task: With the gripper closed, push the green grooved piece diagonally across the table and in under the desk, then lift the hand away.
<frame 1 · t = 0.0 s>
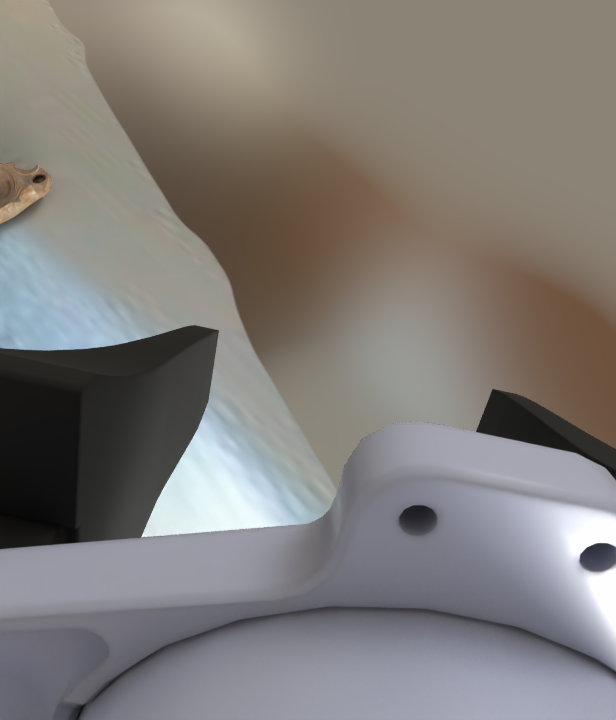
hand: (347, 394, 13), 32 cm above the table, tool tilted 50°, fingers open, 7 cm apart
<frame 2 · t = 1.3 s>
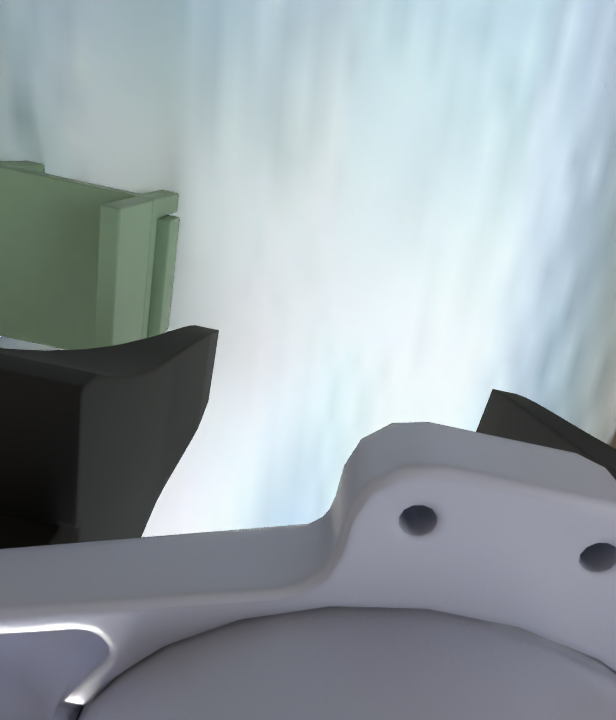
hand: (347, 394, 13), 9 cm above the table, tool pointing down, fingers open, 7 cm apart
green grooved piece: (99, 252, 21), on the table
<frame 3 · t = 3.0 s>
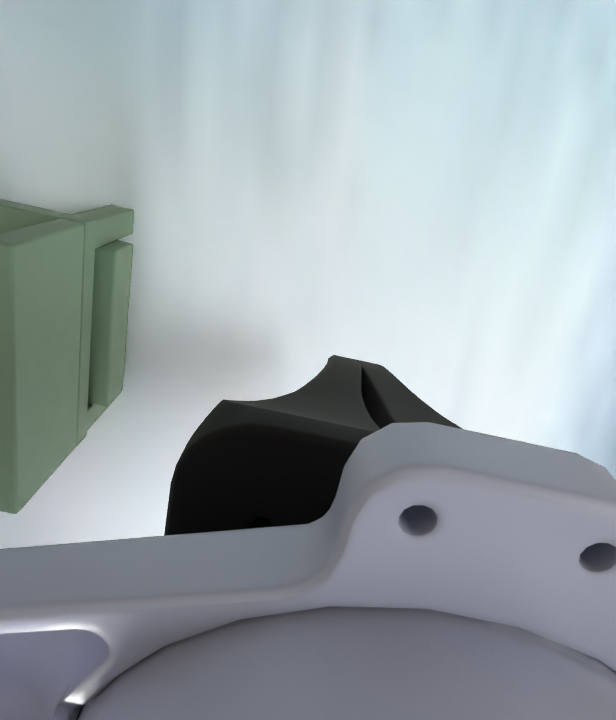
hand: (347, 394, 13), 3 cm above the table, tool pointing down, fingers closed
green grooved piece: (31, 287, 15), on the table
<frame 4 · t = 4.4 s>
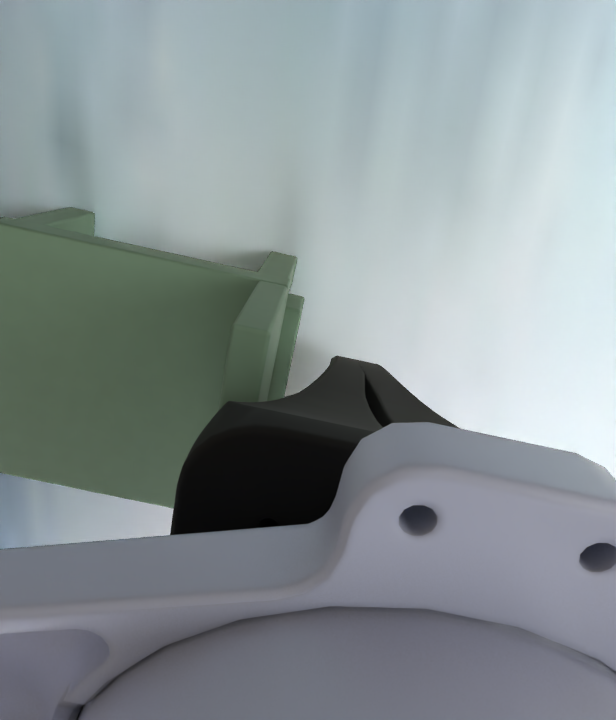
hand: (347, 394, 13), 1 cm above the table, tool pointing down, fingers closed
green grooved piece: (172, 338, 14), on the table, touching gripper
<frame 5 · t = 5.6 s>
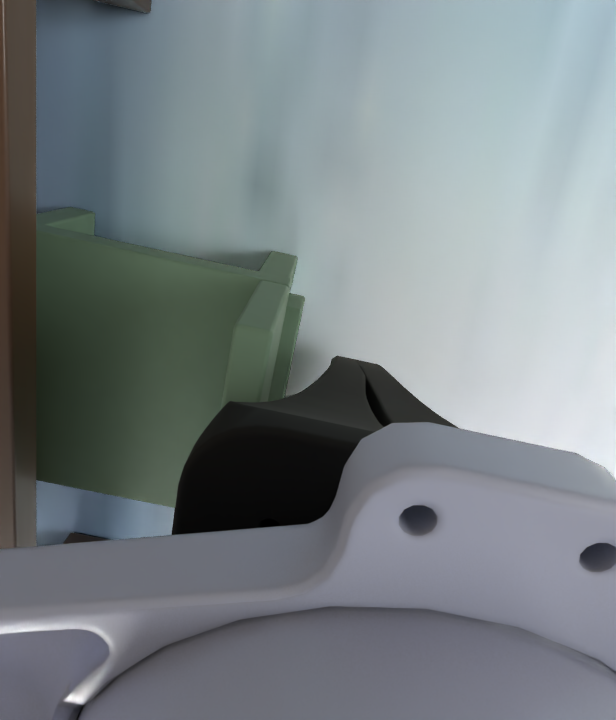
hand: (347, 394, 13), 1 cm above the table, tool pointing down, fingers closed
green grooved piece: (172, 337, 14), on the table, touching gripper
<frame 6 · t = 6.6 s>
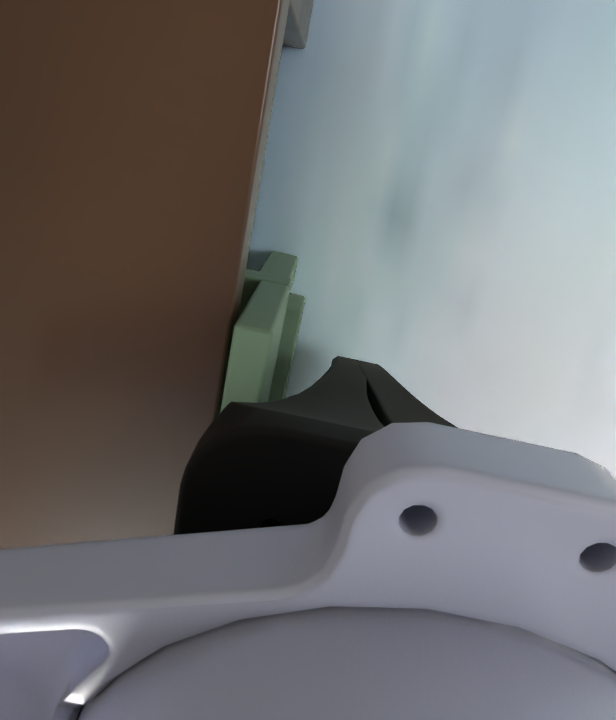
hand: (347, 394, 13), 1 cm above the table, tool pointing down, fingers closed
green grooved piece: (173, 337, 14), on the table, touching gripper
desk: (39, 311, 14), on the table
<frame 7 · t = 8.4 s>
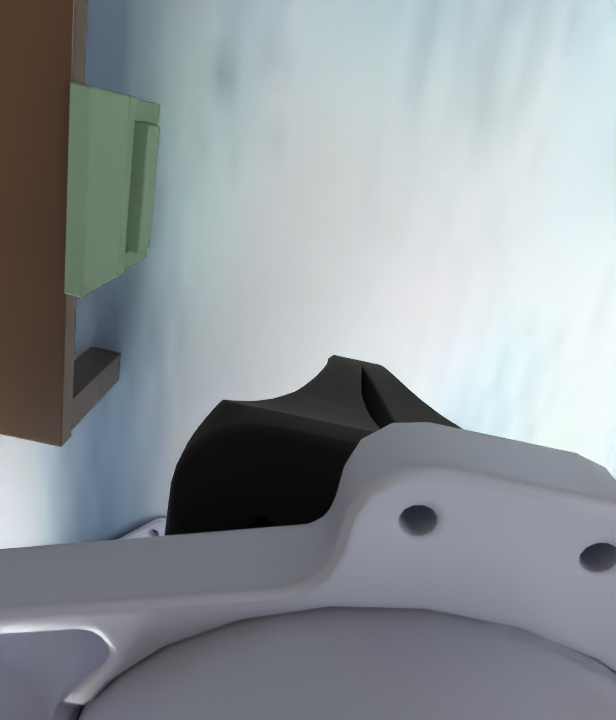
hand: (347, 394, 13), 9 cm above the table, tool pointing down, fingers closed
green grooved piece: (79, 168, 20), on the table
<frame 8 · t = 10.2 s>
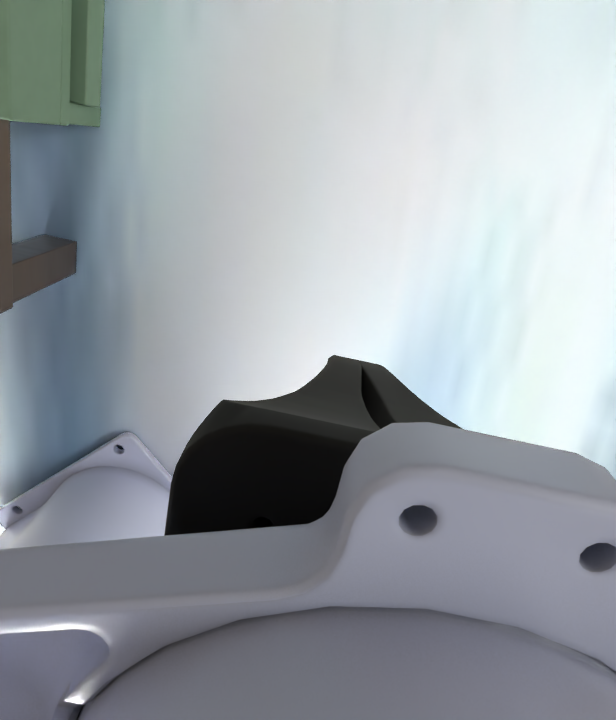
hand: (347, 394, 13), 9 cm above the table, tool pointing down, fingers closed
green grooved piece: (24, 21, 19), on the table
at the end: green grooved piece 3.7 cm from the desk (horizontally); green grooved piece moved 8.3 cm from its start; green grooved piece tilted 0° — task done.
